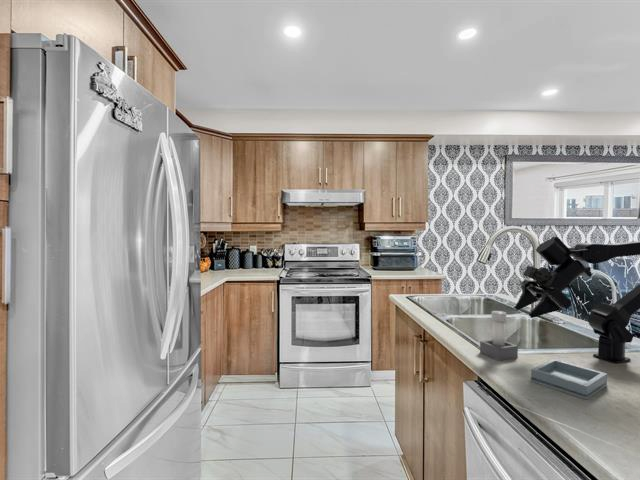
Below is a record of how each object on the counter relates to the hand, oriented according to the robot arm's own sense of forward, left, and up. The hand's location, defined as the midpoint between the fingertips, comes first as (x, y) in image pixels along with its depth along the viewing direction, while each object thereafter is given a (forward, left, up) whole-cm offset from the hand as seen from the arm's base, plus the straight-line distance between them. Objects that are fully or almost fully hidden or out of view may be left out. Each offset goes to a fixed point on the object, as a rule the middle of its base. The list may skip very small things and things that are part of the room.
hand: (522, 312), depth 107 cm
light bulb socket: (+6, -3, -13) cm, 15 cm away
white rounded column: (+6, -3, -13) cm, 15 cm away
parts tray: (+5, +18, -13) cm, 23 cm away
